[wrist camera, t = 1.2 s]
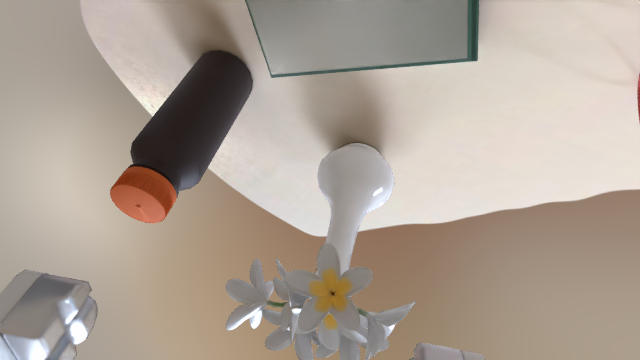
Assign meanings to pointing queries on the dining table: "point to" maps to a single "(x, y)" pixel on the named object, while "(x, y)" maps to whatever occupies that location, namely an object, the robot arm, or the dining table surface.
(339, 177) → the flower vase
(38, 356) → the robot arm
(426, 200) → the dining table surface
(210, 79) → the vinegar
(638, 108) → the red eyeglasses
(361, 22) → the book
